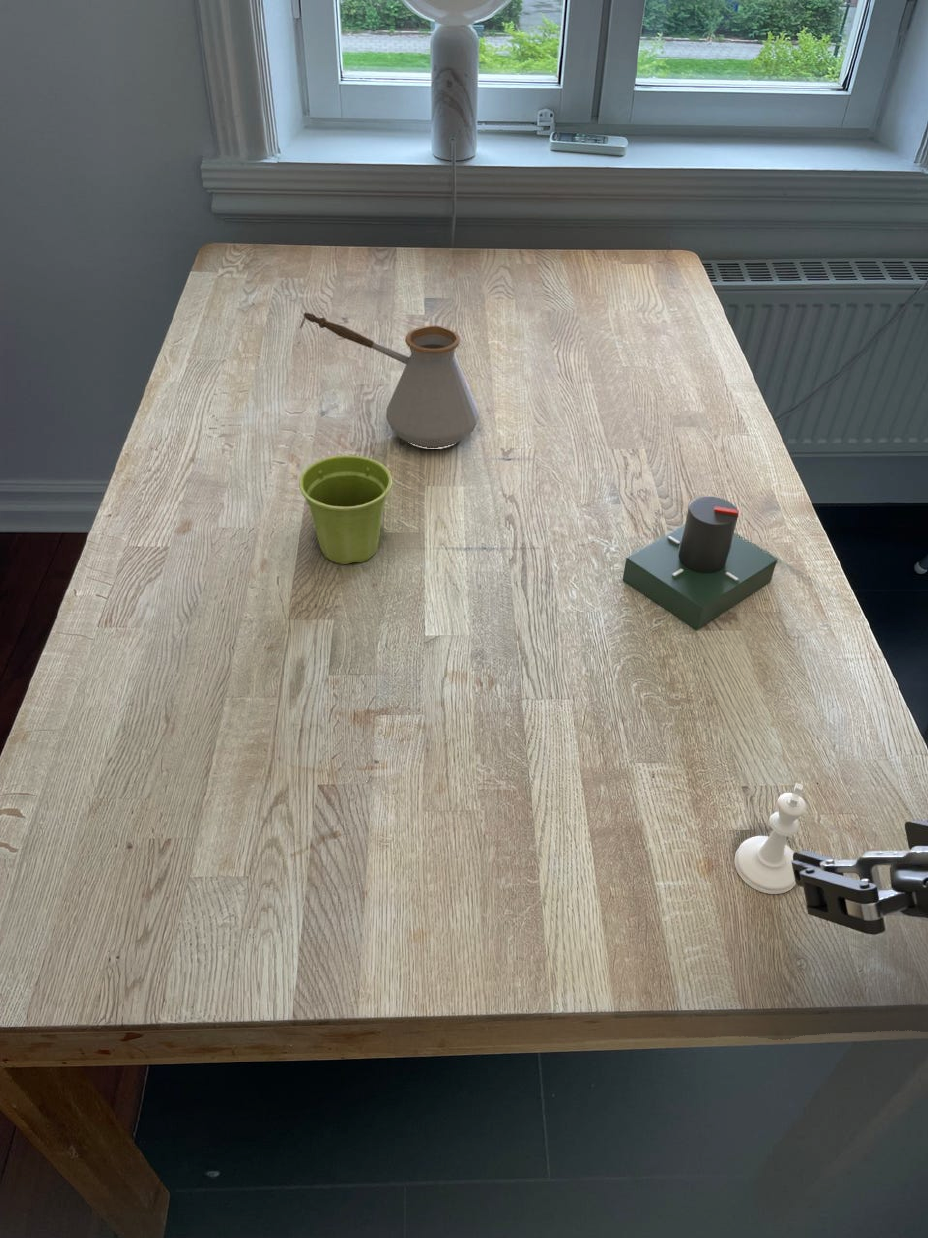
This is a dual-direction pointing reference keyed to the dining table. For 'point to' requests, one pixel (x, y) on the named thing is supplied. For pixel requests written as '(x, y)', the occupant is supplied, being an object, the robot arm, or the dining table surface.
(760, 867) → the chess piece
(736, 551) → the panel
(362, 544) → the plant pot
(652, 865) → the dining table surface
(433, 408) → the coffee pot
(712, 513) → the knob
